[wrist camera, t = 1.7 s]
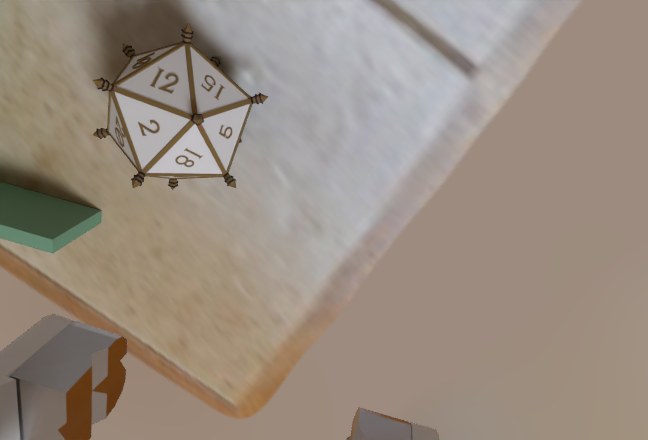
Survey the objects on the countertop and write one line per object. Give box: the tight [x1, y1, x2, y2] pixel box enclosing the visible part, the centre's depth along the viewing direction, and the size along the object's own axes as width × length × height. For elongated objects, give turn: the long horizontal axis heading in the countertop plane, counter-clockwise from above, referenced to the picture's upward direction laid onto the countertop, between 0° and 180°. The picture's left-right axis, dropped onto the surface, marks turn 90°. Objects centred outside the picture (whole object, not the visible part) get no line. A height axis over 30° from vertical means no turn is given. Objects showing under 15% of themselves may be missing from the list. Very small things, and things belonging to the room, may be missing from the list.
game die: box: [93, 23, 268, 190], centre depth 25 cm, size 9×8×10 cm
